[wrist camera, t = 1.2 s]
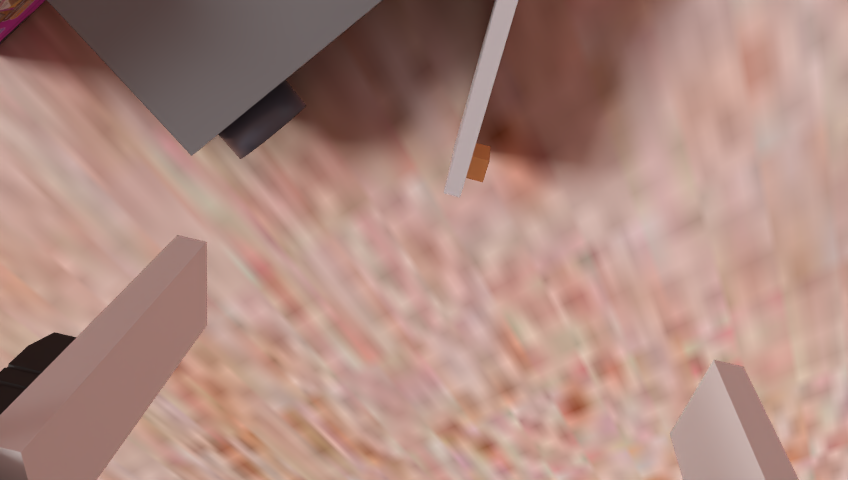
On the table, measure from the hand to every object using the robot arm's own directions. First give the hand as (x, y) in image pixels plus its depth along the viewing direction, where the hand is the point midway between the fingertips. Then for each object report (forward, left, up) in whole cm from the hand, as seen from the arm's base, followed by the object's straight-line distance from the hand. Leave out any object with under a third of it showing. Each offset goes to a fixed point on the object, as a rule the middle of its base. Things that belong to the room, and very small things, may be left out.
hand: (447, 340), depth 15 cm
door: (+3, +3, -20) cm, 20 cm away
